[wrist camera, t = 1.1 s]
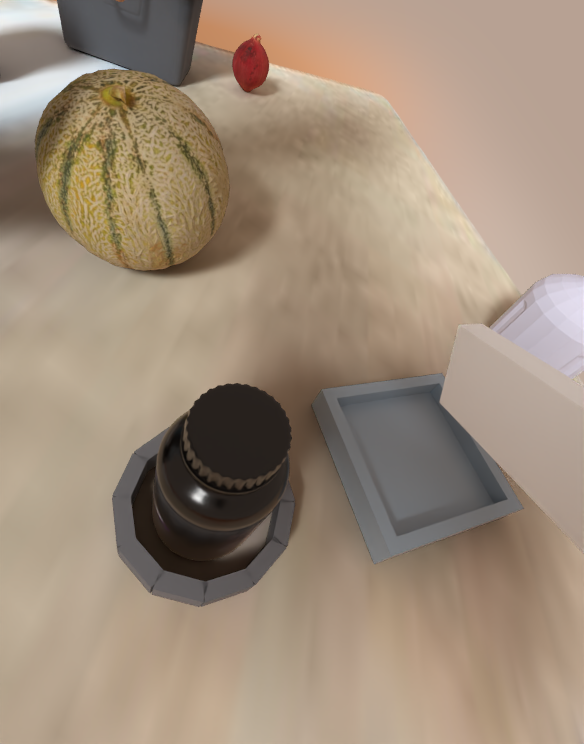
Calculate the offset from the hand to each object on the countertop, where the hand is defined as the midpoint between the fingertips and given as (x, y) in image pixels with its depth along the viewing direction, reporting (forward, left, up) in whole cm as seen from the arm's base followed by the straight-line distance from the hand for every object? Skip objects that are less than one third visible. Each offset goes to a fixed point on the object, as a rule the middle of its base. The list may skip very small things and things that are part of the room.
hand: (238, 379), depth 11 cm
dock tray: (-2, +19, -18) cm, 26 cm away
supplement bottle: (-2, +2, -19) cm, 19 cm away
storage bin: (-71, +5, -19) cm, 73 cm away
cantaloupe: (-28, +1, -19) cm, 33 cm away
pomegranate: (-69, +23, -19) cm, 75 cm away
